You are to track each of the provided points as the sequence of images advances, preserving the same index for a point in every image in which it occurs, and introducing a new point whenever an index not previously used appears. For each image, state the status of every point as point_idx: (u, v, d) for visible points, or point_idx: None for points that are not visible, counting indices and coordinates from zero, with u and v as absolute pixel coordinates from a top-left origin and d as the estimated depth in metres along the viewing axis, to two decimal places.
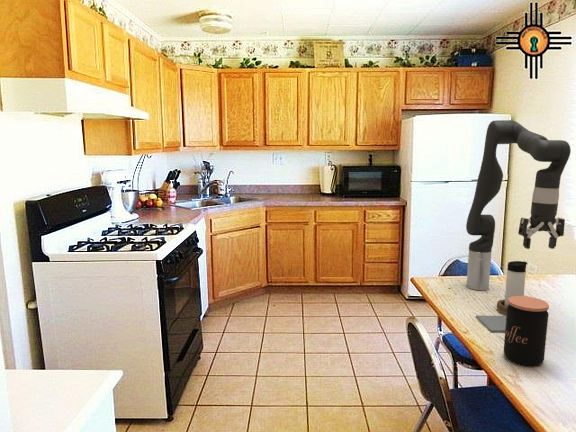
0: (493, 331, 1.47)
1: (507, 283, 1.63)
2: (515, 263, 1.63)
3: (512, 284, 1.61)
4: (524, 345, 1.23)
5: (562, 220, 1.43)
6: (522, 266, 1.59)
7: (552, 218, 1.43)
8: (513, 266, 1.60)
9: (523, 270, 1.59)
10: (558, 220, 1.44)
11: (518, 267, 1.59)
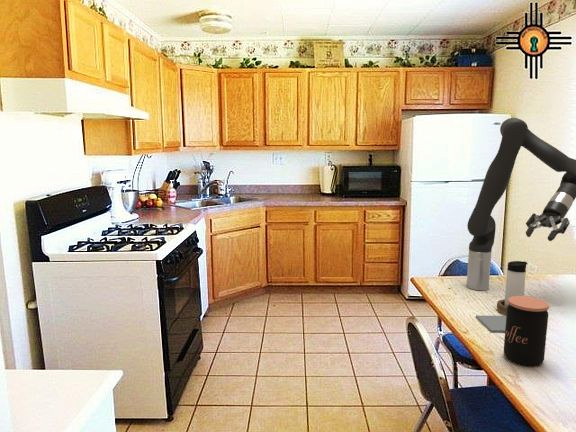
0: (493, 331, 1.47)
1: (507, 283, 1.63)
2: (515, 263, 1.63)
3: (512, 284, 1.61)
4: (524, 345, 1.23)
5: None
6: (522, 266, 1.59)
7: None
8: (513, 266, 1.60)
9: (523, 270, 1.59)
10: None
11: (518, 267, 1.59)
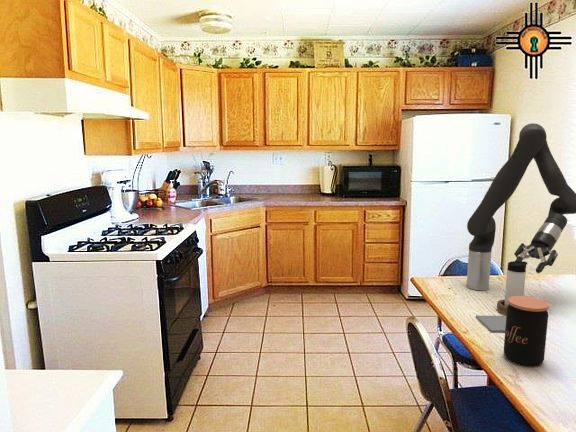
0: (493, 331, 1.47)
1: (507, 283, 1.63)
2: (515, 263, 1.63)
3: (512, 284, 1.61)
4: (524, 345, 1.23)
5: None
6: (522, 266, 1.59)
7: None
8: (513, 266, 1.60)
9: (523, 270, 1.59)
10: None
11: (518, 267, 1.59)
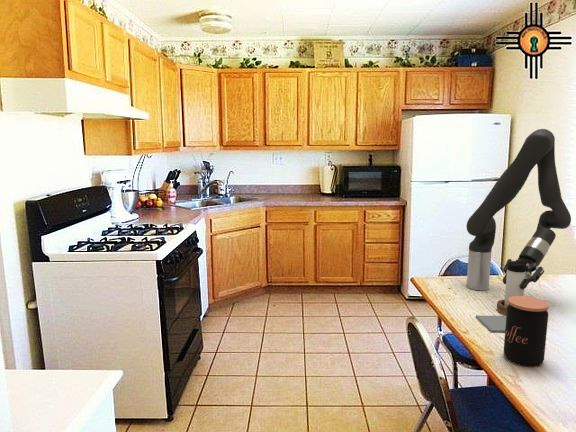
0: (493, 331, 1.47)
1: (507, 283, 1.63)
2: (515, 263, 1.63)
3: (512, 284, 1.61)
4: (524, 345, 1.23)
5: None
6: (522, 266, 1.59)
7: None
8: (513, 266, 1.60)
9: (523, 270, 1.59)
10: None
11: (518, 267, 1.59)
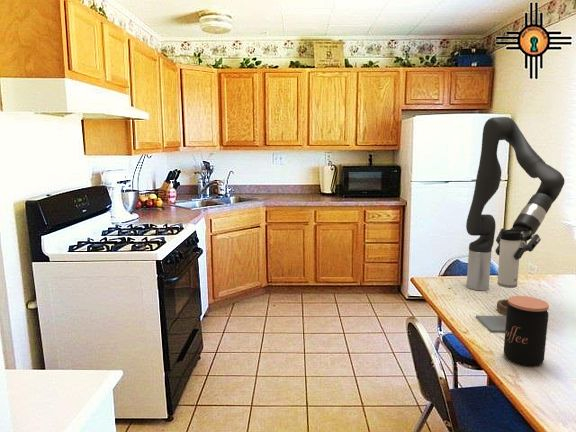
0: (493, 331, 1.47)
1: (500, 253, 1.49)
2: (509, 231, 1.49)
3: (506, 254, 1.47)
4: (524, 345, 1.23)
5: None
6: (517, 234, 1.45)
7: None
8: (507, 234, 1.46)
9: (518, 238, 1.46)
10: None
11: (512, 235, 1.46)
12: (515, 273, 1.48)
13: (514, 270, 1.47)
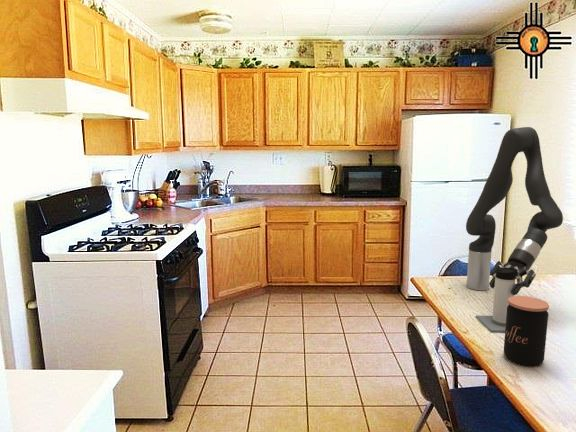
0: (493, 331, 1.47)
1: (495, 291, 1.51)
2: (504, 270, 1.51)
3: (501, 293, 1.49)
4: (524, 345, 1.23)
5: None
6: (511, 273, 1.47)
7: None
8: (501, 273, 1.48)
9: (512, 278, 1.48)
10: None
11: (507, 274, 1.47)
12: None
13: None
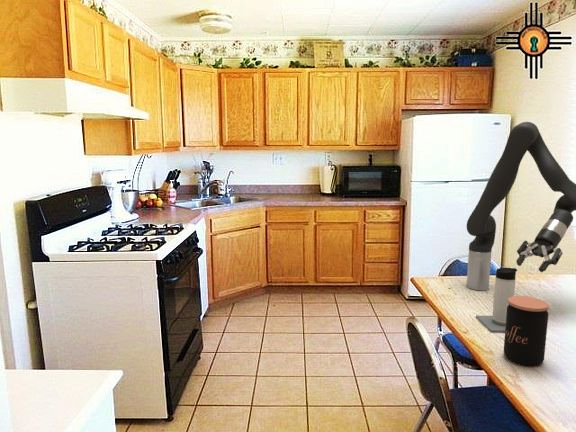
0: (493, 331, 1.47)
1: (495, 291, 1.51)
2: (504, 270, 1.51)
3: (501, 293, 1.49)
4: (524, 345, 1.23)
5: None
6: (511, 273, 1.47)
7: None
8: (502, 273, 1.48)
9: (512, 277, 1.48)
10: None
11: (507, 274, 1.48)
12: None
13: None
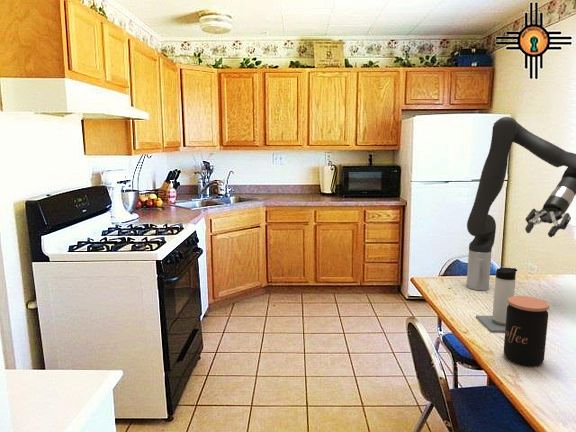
0: (493, 331, 1.47)
1: (495, 291, 1.51)
2: (504, 270, 1.51)
3: (501, 293, 1.49)
4: (524, 345, 1.23)
5: None
6: (511, 273, 1.47)
7: None
8: (502, 273, 1.48)
9: (512, 278, 1.48)
10: None
11: (507, 274, 1.47)
12: None
13: None
